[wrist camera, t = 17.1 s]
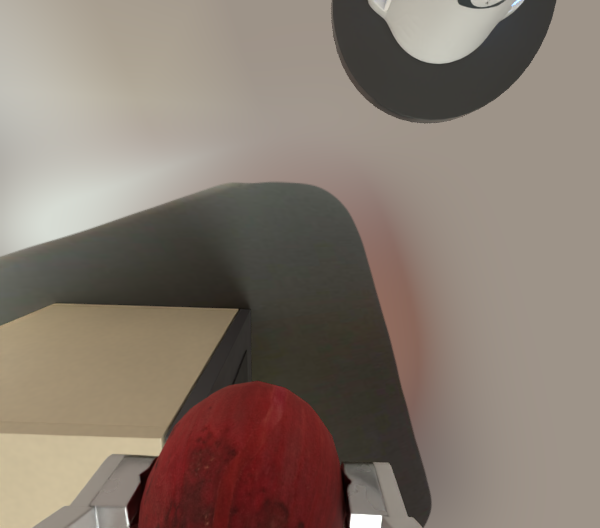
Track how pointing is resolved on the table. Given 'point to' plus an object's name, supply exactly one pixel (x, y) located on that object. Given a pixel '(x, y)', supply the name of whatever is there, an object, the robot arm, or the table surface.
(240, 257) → the table surface
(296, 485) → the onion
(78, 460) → the oven
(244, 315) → the oven door
